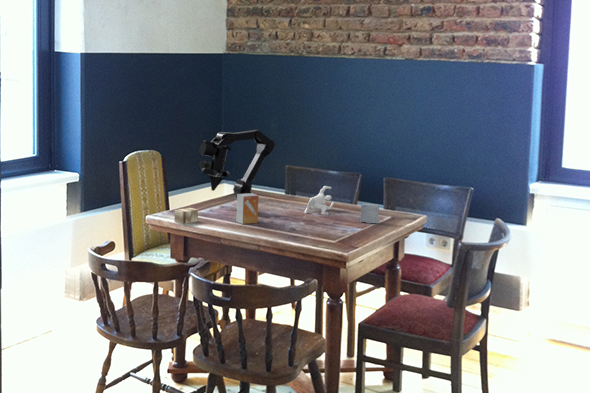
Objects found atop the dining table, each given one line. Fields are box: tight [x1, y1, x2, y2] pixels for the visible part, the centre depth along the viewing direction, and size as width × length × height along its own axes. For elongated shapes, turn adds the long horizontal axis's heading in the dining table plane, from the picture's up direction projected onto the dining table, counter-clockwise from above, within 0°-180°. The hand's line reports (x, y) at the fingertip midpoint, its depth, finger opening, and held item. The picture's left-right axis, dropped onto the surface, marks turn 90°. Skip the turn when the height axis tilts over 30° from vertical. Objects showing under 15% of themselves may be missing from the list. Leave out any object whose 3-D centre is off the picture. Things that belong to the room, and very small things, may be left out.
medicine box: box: [359, 203, 380, 224], centre depth 312 cm, size 8×4×9 cm, turn 71°
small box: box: [235, 192, 259, 225], centre depth 303 cm, size 8×6×13 cm
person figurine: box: [303, 185, 335, 216], centre depth 334 cm, size 13×13×18 cm
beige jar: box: [174, 207, 199, 225], centre depth 300 cm, size 6×6×9 cm
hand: (212, 190), depth 314 cm, fingers closed
